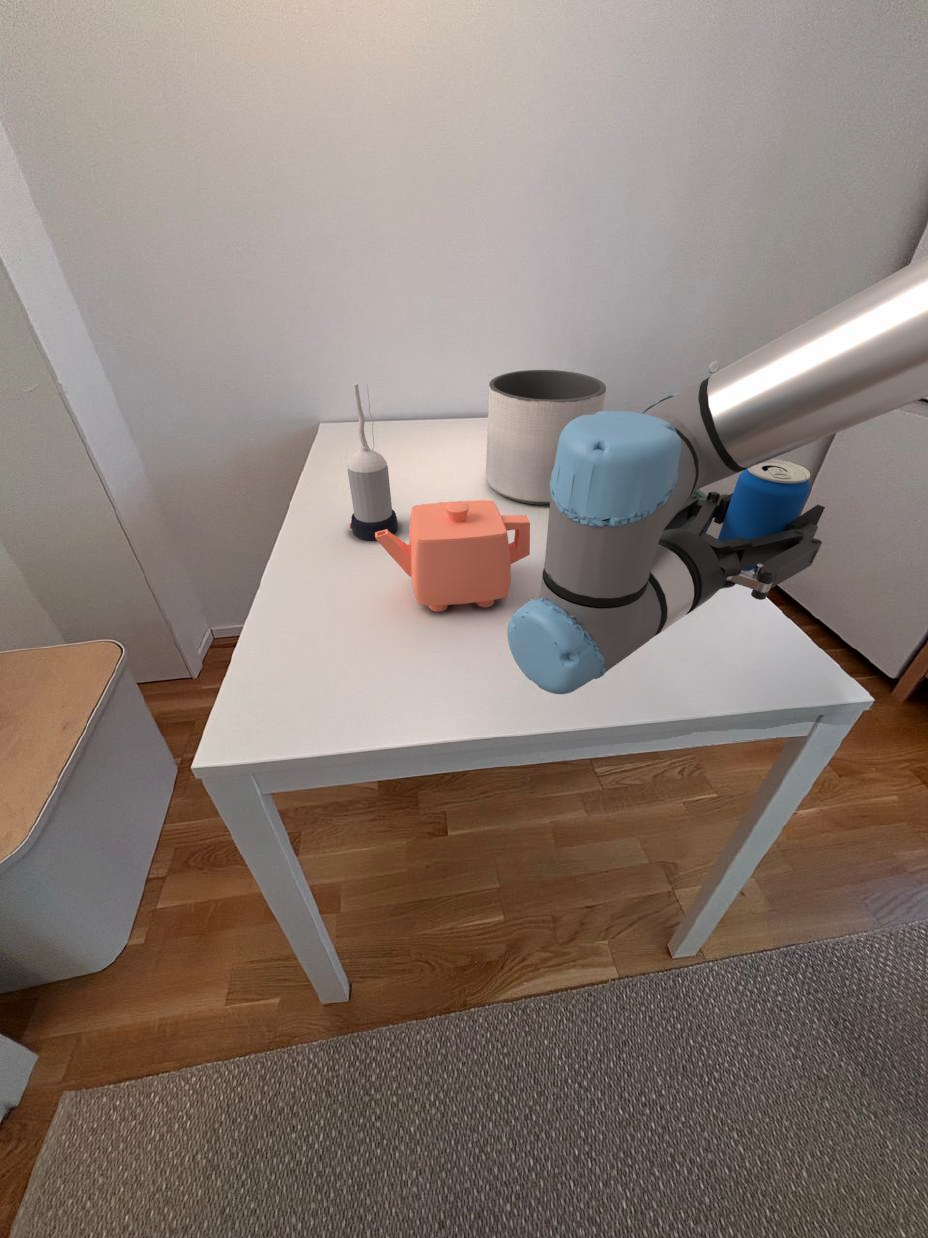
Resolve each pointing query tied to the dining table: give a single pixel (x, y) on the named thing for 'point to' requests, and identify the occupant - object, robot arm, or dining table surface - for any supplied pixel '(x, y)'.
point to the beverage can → (765, 500)
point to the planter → (533, 427)
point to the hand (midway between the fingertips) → (781, 505)
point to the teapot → (459, 552)
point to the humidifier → (369, 487)
